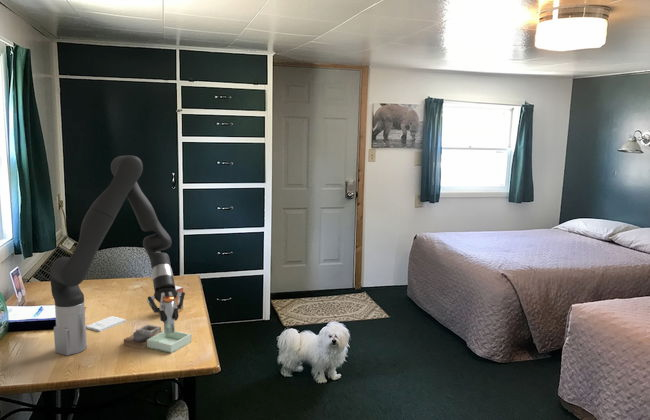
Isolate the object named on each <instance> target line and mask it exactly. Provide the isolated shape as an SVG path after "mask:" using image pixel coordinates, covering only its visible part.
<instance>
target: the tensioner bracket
mask: <svg viewBox="0 0 650 420" xmlns="http://www.w3.org/2000/svg"><path fill="white" fill-rule="evenodd" d="M163 331H164V330H162V327H161V326H159V325H153V324H146V325H143V326H142V327H138V329H135V331H134V332H133V334H132V335H130V336H128V337H126V338H123V345H124V346H129V347H133V348H136V349H140V350H144V349H146V348H147V340H148V339H149V338H151V337H153V336H155V335H157V334H159V333H161V332H163Z"/></svg>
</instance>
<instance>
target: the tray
mask: <svg viewBox="0 0 650 420" xmlns="http://www.w3.org/2000/svg"><path fill="white" fill-rule="evenodd" d="M162 331H163V332H161V333H159V334H157V335H155V336H153V337H151V338H149V339H148V340H147V347H146V348H147V349H150V350H151V349H152V350H155V351H160V352H164V353H167V354H173V353H174V352H176V351H178V350H180V349H182V348H183V347H186V346H187V345H188V344H190V343H192V334H191V333H186V332H182V331H178V330H175V332H173V333H170V334H167V333H165V332H164V330H162Z"/></svg>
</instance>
